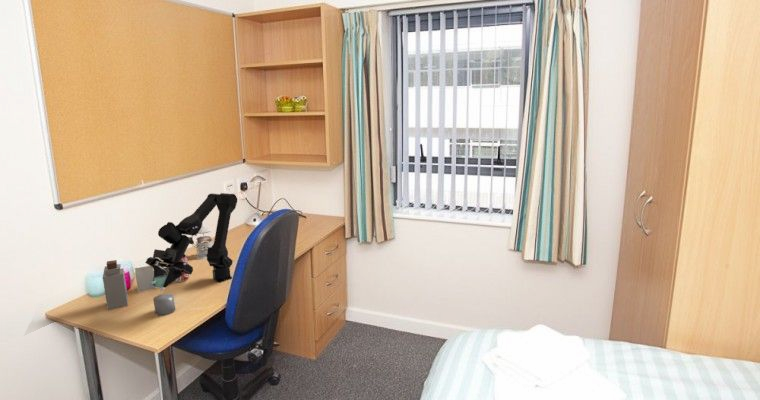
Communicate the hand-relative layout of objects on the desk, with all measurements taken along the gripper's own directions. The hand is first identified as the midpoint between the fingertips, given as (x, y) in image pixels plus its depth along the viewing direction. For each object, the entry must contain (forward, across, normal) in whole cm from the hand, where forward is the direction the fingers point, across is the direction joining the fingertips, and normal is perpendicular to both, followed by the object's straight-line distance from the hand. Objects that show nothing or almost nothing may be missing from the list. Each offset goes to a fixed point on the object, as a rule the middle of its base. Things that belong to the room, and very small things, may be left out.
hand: (158, 286), depth 167 cm
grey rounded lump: (+7, 0, +9) cm, 11 cm away
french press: (-31, -29, +47) cm, 63 cm away
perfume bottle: (+8, -23, +8) cm, 25 cm away
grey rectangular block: (-3, -24, +18) cm, 30 cm away
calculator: (-14, -30, +30) cm, 45 cm away
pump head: (+1, 0, +2) cm, 2 cm away
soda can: (-11, -17, +27) cm, 34 cm away
